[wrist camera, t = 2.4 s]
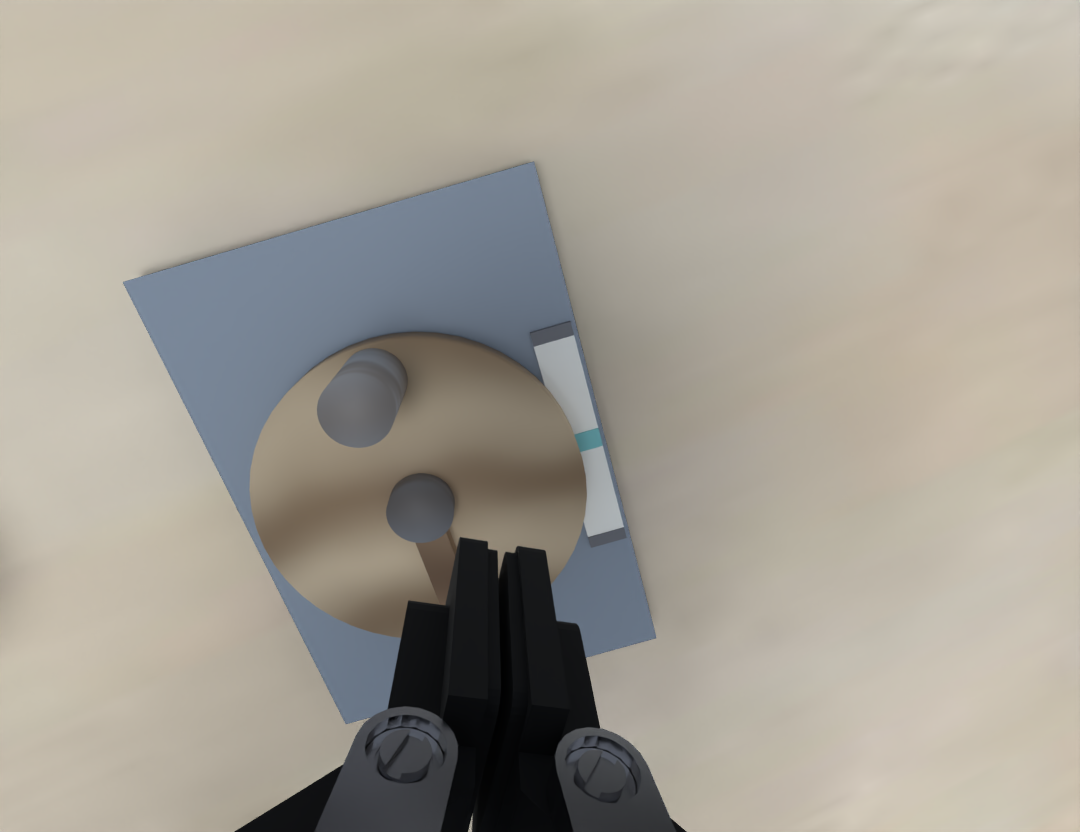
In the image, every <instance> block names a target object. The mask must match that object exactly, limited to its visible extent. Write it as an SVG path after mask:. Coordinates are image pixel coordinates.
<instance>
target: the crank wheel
mask: <svg viewBox="0 0 1080 832" xmlns="http://www.w3.org/2000/svg"><path fill="white" fill-rule="evenodd" d="M249 491H250V500H251V510H252V514H253V518H254V522H255V525H256V529H257V532H258V534H259V536H260V539H261V541H262V544H263V546H264V548H265V550H266V552H267V553H268V555H269V557H270V558H271V560H272V562H273V563H274V565H275V566H276V568H277V569H278V570H279V571H280V573H281V574H282V575H283V577H284V578H285V579H286V580H287V581H288V582H289V583H290V584H291V585H292V586H293V587H294V588H295V589H296V590H297V591H298V592H299V593H300V594H301V595H302V596H303V597H304V598H306V599H307V600H308V601H310V602H311V603H312V604H313V605H315V606H316V607H317V608H319V609H321V610H322V611H324V612H326V613H327V614H329V615H331V616H332V617H334V618H336V619H338V620H340V621H343V622H345V623H347V624H349V625H351V626H354V627H357V628H360V629H363V630H366V631H369V632H372V633H376V634H381V635H386V636H391V637H398V638H401V635H402V630H403V625H404V620H405V614H406V609H407V604H408V600H410V601H417V602H424V603H432V604H439V605H445V604H446V599H447V594H448V589H449V584H450V579H451V575H452V570H453V565H454V560H455V555H456V551H457V546H458V541H459V538H460V537H463V538H470V539H476V540H483V541H488V549H492V550H497V551H498V578H499V574H500V570H501V566H502V561H503V557H504V554H505V552H511V553H515V550H516V547H517V546H522V547H528V548H535V549H541V550H545V551H546V555H547V562H548V568H549V575H550V581H551V584H552V583H553V582H554V580H555V579H556V578H557V576H558V575H559V574H560V572H561V571H562V570H563V568H564V567H565V565H566V564H567V562H568V560H569V558H570V556H571V555H572V553H573V551H574V549H575V546H576V544H577V541H578V539H579V536H580V534H581V530H582V526H583V522H584V517H585V511H586V500H587V487H586V474H585V469H584V464H583V459H582V456H581V453H580V450H579V447H578V444H577V441H576V438H575V436H574V433H573V430H572V427H571V425H570V423H569V421H568V419H567V417H566V415H565V413H564V411H563V409H562V408H561V406H560V405H559V404H558V402H557V401H556V399H555V398H554V397H553V395H552V394H551V392H550V391H549V390H548V389H547V388H546V387H545V386H544V385H543V384H542V383H541V382H540V381H539V380H538V378H537V377H536V376H534V375H533V374H532V373H531V372H529V371H528V370H527V369H526V368H524V367H523V366H522V365H521V364H520V363H518V362H516V361H515V360H513V359H511V358H510V357H508V356H507V355H505V354H503V353H502V352H500V351H498V350H495V349H493V348H491V347H489V346H486V345H484V344H482V343H479V342H476V341H473V340H469V339H466V338H463V337H460V336H454V335H448V334H442V333H435V332H404V333H392V334H387V335H382V336H378V337H373V338H369V339H366V340H363V341H361V342H358V343H355V344H352V345H350V346H347V347H345V348H343V349H342V350H340V351H338V352H336V353H334V354H332V355H330V356H328V357H327V358H325V359H324V360H323V361H321V362H320V363H319V364H317V365H316V366H314V367H313V368H312V369H310V370H309V371H308V372H307V373H306V374H305V375H304V376H303V377H302V378H301V379H300V380H299V381H298V382H297V383H296V384H295V385H294V386H293V387H292V388H291V389H290V390H289V391H288V392H287V393H286V394H285V395H284V397H283V398H282V399H281V401H280V402H279V403H278V404H277V406H276V407H275V408H274V410H273V411H272V412H271V414H270V416H269V418H268V420H267V421H266V423H265V425H264V427H263V429H262V431H261V433H260V436H259V439H258V441H257V444H256V447H255V449H254V454H253V459H252V464H251V469H250V488H249Z"/></svg>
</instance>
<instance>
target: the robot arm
mask: <svg viewBox="0 0 1080 832" xmlns="http://www.w3.org/2000/svg"><path fill="white" fill-rule="evenodd" d="M472 813H473V823H472V832H686V831H685V830H684V829H683V828H681V827H680V826H679V825H678V824H677V823H676V822H674V821H673V820H672V819H671V818H670V816H669V814H668V811H667V809H666V807H665V804H664V802H663V800H662V797H661V795H660V793H659V790H658V788H657V786H656V783H655V781H654V779H653V776H652V774H651V772H650V769H649V767H648V765H647V764H646V762H645V760H644V758H643V757H642V755H641V753H640V752H639V751H638V750H637V749H636V748H635V747H634V746H633V745H632V744H631V743H630V742H628V741H627V740H625V739H624V738H622V737H621V736H619V735H617V734H615V733H613V732H610V731H607V730H605V729H600V725H599V720H598V715H597V711H596V706H595V701H594V696H593V691H592V686H591V681H590V676H589V671H588V666H587V661H586V656H585V651H584V646H583V641H582V636H581V632H580V628H579V626H578V625H577V624H576V623H570V622H563V621H557V620H556V614H555V607H554V601H553V594H552V588H551V581H550V575H549V568H548V562H547V555H546V551H545V550H541V549H535V548H528V547H522V546H517V547H516V550H515V553H511V552H505V554H504V557H503V561H502V566H501V570H500V574H499V578H498V551H497V550H492V549H488V541H483V540H476V539H470V538H463V537H460V538H459V541H458V546H457V551H456V555H455V560H454V565H453V570H452V575H451V579H450V584H449V589H448V594H447V599H446V604H445V605H439V604H432V603H424V602H417V601H410V600H408V604H407V609H406V614H405V620H404V625H403V630H402V635H401V641H400V646H399V651H398V656H397V662H396V667H395V672H394V677H393V683H392V688H391V693H390V699H389V704H388V709H387V710H384V711H382V712H380V713H377V714H375V715H374V716H373V717H371V718H370V719H369V720H368V721H366V722H365V723H364V724H363V726H362V727H361V729H360V730H359V732H358V733H357V735H356V737H355V739H354V741H353V744H352V746H351V748H350V750H349V753H348V755H347V757H346V760H345V762H344V764H343V765H342V766H340V767H338V768H337V769H335V770H334V771H332V772H330V773H329V774H327V775H326V776H324V777H322V778H321V779H319V780H317V781H316V782H314V783H313V784H311V785H309V786H308V787H306V788H304V789H303V790H301V791H300V792H298V793H296V794H295V795H293V796H292V797H290V798H288V799H287V800H285V801H283V802H282V803H280V804H279V805H277V806H275V807H274V808H272V809H270V810H269V811H267V812H266V813H264V814H262V815H261V816H259V817H258V818H256V819H254V820H253V821H251V822H249V823H248V824H246V825H245V826H243V827H241V828H240V829H238V830H236V831H235V832H468V829H469V825H470V821H471V817H472Z"/></svg>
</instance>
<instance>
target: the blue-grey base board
mask: <svg viewBox="0 0 1080 832" xmlns="http://www.w3.org/2000/svg"><path fill="white" fill-rule="evenodd" d="M123 284H124V286H125V288H126V290H127V292H128V294H129V296H130V298H131V300H132V301H133V303H134V305H135V307H136V309H137V311H138V313H139V315H140V317H141V319H142V321H143V323H144V325H145V327H146V329H147V331H148V333H149V335H150V337H151V339H152V341H153V343H154V345H155V347H156V349H157V351H158V353H159V355H160V357H161V359H162V361H163V363H164V365H165V367H166V369H167V371H168V373H169V375H170V377H171V379H172V381H173V383H174V385H175V387H176V389H177V391H178V393H179V395H180V397H181V399H182V401H183V403H184V404H185V406H186V408H187V410H188V412H189V414H190V416H191V418H192V420H193V422H194V424H195V426H196V428H197V430H198V432H199V434H200V436H201V438H202V440H203V442H204V444H205V446H206V448H207V450H208V452H209V454H210V456H211V458H212V460H213V462H214V464H215V466H216V468H217V470H218V472H219V474H220V476H221V478H222V480H223V482H224V484H225V486H226V488H227V490H228V492H229V494H230V496H231V498H232V500H233V502H234V504H235V506H236V508H237V509H238V511H239V513H240V515H241V517H242V519H243V521H244V523H245V525H246V527H247V529H248V531H249V533H250V535H251V537H252V539H253V541H254V543H255V545H256V547H257V549H258V551H259V553H260V555H261V557H262V559H263V561H264V563H265V565H266V567H267V569H268V571H269V573H270V575H271V577H272V579H273V581H274V583H275V585H276V587H277V589H278V591H279V593H280V595H281V597H282V599H283V601H284V603H285V605H286V607H287V609H288V611H289V612H290V614H291V616H292V618H293V620H294V622H295V624H296V626H297V628H298V630H299V632H300V634H301V636H302V638H303V640H304V642H305V644H306V646H307V648H308V650H309V652H310V654H311V656H312V658H313V660H314V662H315V664H316V666H317V668H318V670H319V672H320V674H321V676H322V678H323V680H324V682H325V684H326V686H327V688H328V690H329V692H330V694H331V696H332V698H333V700H334V702H335V704H336V706H337V708H338V710H339V712H340V714H341V715H342V717H343V719H344V721H345V723H346V724H348V723H352V722H356V721H359V720H363V719H366V718H370V717H373V716H374V715H375V714H377V713H380V712H382V711H384V710H387V709H388V704H389V699H390V693H391V688H392V683H393V677H394V672H395V667H396V662H397V656H398V651H399V646H400V641H401V638H398V637H391V636H386V635H381V634H376V633H372V632H369V631H366V630H363V629H360V628H357V627H354V626H351V625H349V624H347V623H345V622H343V621H340V620H338V619H336V618H334V617H332V616H331V615H329V614H327V613H326V612H324V611H322V610H321V609H319V608H317V607H316V606H315V605H313V604H312V603H311V602H310V601H308V600H307V599H306V598H304V597H303V596H302V595H301V594H300V593H299V592H298V591H297V590H296V589H295V588H294V587H293V586H292V585H291V584H290V583H289V582H288V581H287V580H286V579H285V578H284V577H283V575H282V574H281V573H280V571H279V570H278V569H277V568H276V566H275V565H274V563H273V562H272V560H271V558H270V557H269V555H268V553H267V552H266V550H265V548H264V546H263V544H262V541H261V539H260V536H259V534H258V532H257V529H256V525H255V522H254V518H253V514H252V510H251V500H250V491H249V488H250V469H251V464H252V459H253V454H254V449H255V447H256V444H257V441H258V439H259V436H260V433H261V431H262V429H263V427H264V425H265V423H266V421H267V420H268V418H269V416H270V414H271V412H272V411H273V410H274V408H275V407H276V406H277V404H278V403H279V402H280V401H281V399H282V398H283V397H284V395H285V394H286V393H287V392H288V391H289V390H290V389H291V388H292V387H293V386H294V385H295V384H296V383H297V382H298V381H299V380H300V379H301V378H302V377H303V376H304V375H305V374H306V373H307V372H308V371H309V370H310V369H312V368H313V367H314V366H316V365H317V364H319V363H320V362H321V361H323V360H324V359H325V358H327V357H328V356H330V355H332V354H334V353H336V352H338V351H340V350H342V349H343V348H345V347H347V346H350V345H352V344H355V343H358V342H361V341H363V340H366V339H369V338H373V337H378V336H382V335H387V334H392V333H404V332H435V333H442V334H448V335H454V336H460V337H463V338H466V339H469V340H473V341H476V342H479V343H482V344H484V345H486V346H489V347H491V348H493V349H495V350H498V351H500V352H502V353H503V354H505V355H507V356H508V357H510V358H511V359H513V360H515V361H516V362H518V363H520V364H521V365H522V366H523V367H524V368H526V369H527V370H528V371H529V372H531V373H532V374H533V375H534V376H536V377H537V378H538V380H539V381H540V382H541V383H542V384H543V385H544V386H545V387H546V388H547V389H548V390H549V391H550V392H551V394H552V395H553V397H554V398H555V399H556V401H557V402H558V404H559V405H560V406H561V408H562V409H563V411H564V413H565V415H566V417H567V419H568V421H569V423H570V425H571V427H572V430H573V433H574V436H575V438H576V441H577V444H578V447H579V450H580V453H581V456H582V459H583V464H584V469H585V474H586V487H587V500H586V511H585V517H584V522H583V526H582V530H581V534H580V536H579V539H578V541H577V544H576V546H575V549H574V551H573V553H572V555H571V556H570V558H569V560H568V562H567V564H566V565H565V567H564V568H563V570H562V571H561V572H560V574H559V575H558V576H557V578H556V579H555V580H554V582H553V583H552V584H551V588H552V594H553V601H554V607H555V614H556V620H557V621H563V622H570V623H576V624H577V625H578V626H579V628H580V632H581V636H582V641H583V646H584V651H585V656H586V657H590V656H593V655H597V654H601V653H604V652H608V651H611V650H615V649H619V648H622V647H626V646H629V645H633V644H637V643H640V642H644V641H648V640H651V639H655V638H656V634H655V630H654V626H653V623H652V619H651V615H650V611H649V607H648V603H647V599H646V595H645V591H644V588H643V584H642V580H641V576H640V572H639V568H638V564H637V560H636V556H635V553H634V549H633V545H632V541H631V537H630V533H629V529H628V525H627V521H626V518H625V514H624V510H623V506H622V502H621V498H620V494H619V490H618V486H617V483H616V479H615V475H614V471H613V467H612V463H611V459H610V455H609V451H608V448H607V444H606V440H605V436H604V432H603V428H602V424H601V420H600V416H599V413H598V409H597V405H596V401H595V397H594V393H593V389H592V385H591V381H590V378H589V374H588V370H587V366H586V362H585V358H584V354H583V350H582V346H581V343H580V339H579V335H578V331H577V327H576V323H575V319H574V315H573V311H572V308H571V304H570V300H569V296H568V292H567V288H566V284H565V280H564V276H563V273H562V269H561V265H560V261H559V257H558V253H557V249H556V245H555V241H554V238H553V234H552V230H551V226H550V222H549V218H548V214H547V210H546V206H545V203H544V199H543V195H542V191H541V187H540V183H539V179H538V175H537V171H536V168H535V164H534V162H530V163H527V164H524V165H520V166H517V167H513V168H510V169H507V170H503V171H500V172H496V173H493V174H490V175H486V176H483V177H479V178H476V179H473V180H469V181H466V182H462V183H459V184H456V185H452V186H449V187H445V188H442V189H438V190H435V191H432V192H428V193H425V194H421V195H418V196H415V197H411V198H408V199H404V200H401V201H398V202H394V203H391V204H387V205H384V206H381V207H377V208H374V209H370V210H367V211H363V212H360V213H357V214H353V215H350V216H346V217H343V218H340V219H336V220H333V221H329V222H326V223H323V224H319V225H316V226H312V227H309V228H306V229H302V230H299V231H295V232H292V233H288V234H285V235H282V236H278V237H275V238H271V239H268V240H265V241H261V242H258V243H254V244H251V245H248V246H244V247H241V248H237V249H234V250H231V251H227V252H224V253H220V254H217V255H214V256H210V257H207V258H203V259H200V260H196V261H193V262H190V263H186V264H183V265H179V266H176V267H173V268H169V269H166V270H162V271H159V272H156V273H152V274H149V275H145V276H142V277H139V278H135V279H132V280H128V281H125V282H123Z"/></svg>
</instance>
